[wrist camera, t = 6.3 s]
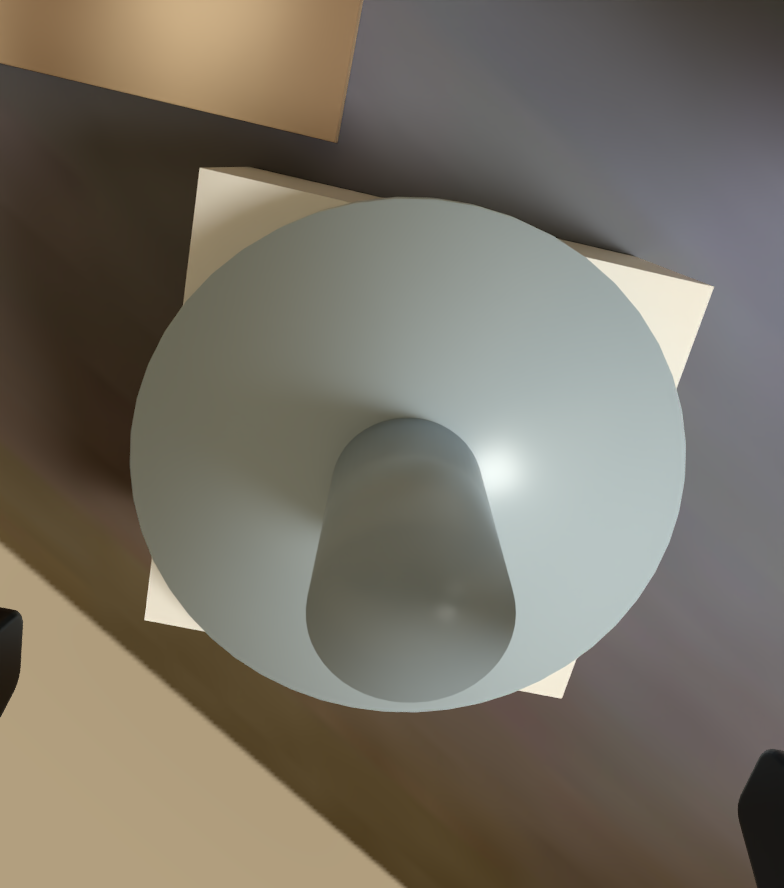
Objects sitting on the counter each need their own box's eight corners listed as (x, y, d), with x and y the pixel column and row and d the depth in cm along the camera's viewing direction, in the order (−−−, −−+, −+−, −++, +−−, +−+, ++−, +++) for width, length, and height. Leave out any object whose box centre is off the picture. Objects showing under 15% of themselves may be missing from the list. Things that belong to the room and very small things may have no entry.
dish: (636, 257, 19) (714, 286, 14) (527, 587, 23) (561, 698, 18) (250, 166, 18) (199, 167, 14) (198, 522, 22) (144, 619, 17)
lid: (750, 269, 14) (949, 328, 9) (576, 720, 18) (648, 942, 13) (178, 134, 13) (43, 115, 8) (122, 635, 17) (5, 834, 12)
